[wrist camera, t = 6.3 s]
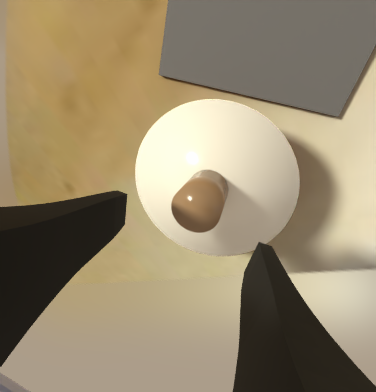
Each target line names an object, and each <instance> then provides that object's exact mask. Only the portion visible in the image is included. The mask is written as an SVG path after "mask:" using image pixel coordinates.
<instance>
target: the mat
mask: <svg viewBox="0 0 376 392" xmlns="http://www.w3.org/2000/svg"><path fill="white" fill-rule="evenodd" d="M375 46H376V0H168V7H167V14H166V22H165V30H164V38H163V46H162V54H161V62H160V70H159V75H161V76H165V77H169V78H173V79H178V80H182V81H186V82H190V83H195V84H199V85H203V86H208V87H212V88H216V89H220V90H225V91H229V92H233V93H238V94H242V95H246V96H250V97H255V98H259V99H263V100H268V101H272V102H276V103H280V104H285V105H289V106H293V107H298V108H302V109H306V110H310V111H315V112H319V113H323V114H328V115H332V116H336V117H339V115H340V113H341V111H342V109H343V107H344V105H345V103H346V101H347V99H348V97H349V95H350V94H351V92H352V90H353V88H354V86H355V84H356V82H357V80H358V78H359V76H360V74H361V72H362V71H363V69H364V67H365V65H366V63H367V61H368V59H369V57H370V55H371V53H372V51H373V49H374V48H375Z"/></svg>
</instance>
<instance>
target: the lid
mask: <svg viewBox="0 0 376 392" xmlns="http://www.w3.org/2000/svg"><path fill="white" fill-rule="evenodd" d="M135 177H136V186H137V190H138V195H139V197H140V200H141V203H142V205H143V207H144V209H145V211H146V213H147V214H148V216H149V218H150V219H151V220H152V222H153V223H154V224H155V226H156V227H157V228H158V229H159V230H160V231H161V232H162V233H163V234H165V235H166V236H167V237H168V238H170V239H171V240H172V241H174V242H175V243H177V244H179V245H181V246H182V247H184V248H187V249H189V250H191V251H194V252H197V253H201V254H206V255H211V256H233V255H240V254H244V253H247V252H250V251H253V250H255V249H256V247H257V244H258V242H261V243H264V244H266V243H268V242H269V241H271V240H272V239H273V238H275V237H276V236H277V235H278V234H279V233H280V232H281V231H282V229H283V228H284V227H285V226H286V225H287V223H288V221H289V220H290V218H291V216H292V214H293V212H294V210H295V207H296V204H297V200H298V196H299V188H300V178H299V169H298V164H297V160H296V157H295V155H294V152H293V150H292V147H291V146H290V144H289V142H288V141H287V139H286V137H285V136H284V135H283V133H282V132H281V131H280V130H279V129H278V127H277V126H276V125H275V124H274V123H272V122H271V121H270V120H269V119H268V118H267V117H266V116H264V115H262V114H261V113H259V112H258V111H256V110H255V109H252V108H250V107H248V106H246V105H243V104H240V103H237V102H233V101H228V100H221V99H204V100H198V101H192V102H189V103H186V104H183V105H181V106H178V107H176V108H174V109H172V110H171V111H169V112H168V113H166V114H165V115H163V116H162V117H161V118H160V119H159V120H158V121H157V122H156V123H155V124H154V125H153V126H152V127H151V129H150V130H149V131H148V133H147V134H146V136H145V138H144V139H143V141H142V144H141V146H140V148H139V152H138V156H137V160H136V171H135Z"/></svg>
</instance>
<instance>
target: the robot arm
mask: <svg viewBox="0 0 376 392" xmlns="http://www.w3.org/2000/svg"><path fill="white" fill-rule="evenodd" d="M126 203H127V194H125V193H123V192H120V191H111V192H105V193H100V194H95V195H91V196H86V197H81V198H76V199H70V200H65V201H59V202H53V203H46V204H37V205H27V206H12V207H0V367H1V366H2V365H3V363H4V362H5V360H6V359H7V358H8V356H9V355H10V354H11V352H12V351H13V350H14V348H15V347H16V345H17V344H18V343H19V342H20V340H21V339H22V338H23V336H24V335H25V334H26V332H27V331H28V330H29V328H30V327H31V326H32V325H33V323H34V322H35V321H36V320H37V318H38V317H39V316H40V315H41V313H42V312H43V311H44V310H45V308H46V307H47V306H48V305H49V303H50V302H51V301H52V300H53V299H54V298H55V297H56V295H57V294H58V293H59V292H60V291H61V289H62V288H63V287H64V286H65V285H66V284H67V283H68V282H69V281H70V279H71V278H72V277H73V276H74V275H75V274H76V273H77V272H78V271H79V270H80V269H81V268H82V267H83V266H84V265H85V264H86V263H87V262H88V261H90V260H91V259H92V258H93V257H94V256H95V255H96V254H97V253H98V252H99V251H100V250H101V249H103V248H104V247H105V246H106V245H107V244H108V243H109V242H110V241H111V240H112V239H113V238H114V237H115V236H116V235H117V234H118V232H119V231H120V230H121V229H122V227H123V226H124V225H125V215H126ZM0 392H30V391H29V390H27V389H25V388H24V387H22V386H21V385H19V384H17V383H16V382H14V381H12V380H11V379H9V378H8V377H6V376H5V375H3V374H1V373H0ZM233 392H376V386H375V385H374V384H373V383H372V382H371V381H370V380H369V379H368V378H367V377H366V376H365V375H364V373H363V372H362V371H361V370H360V369H359V368H358V367H357V366H356V365H355V364H354V363H353V361H352V360H351V359H350V358H349V357H348V356H347V354H346V353H345V352H344V351H343V350H342V349H341V348H340V346H339V345H338V344H337V343H336V342H335V341H334V339H333V338H332V337H331V336H330V335H329V333H328V332H327V331H326V330H325V328H324V327H323V326H322V324H321V323H320V322H319V320H318V319H317V318H316V316H315V315H314V314H313V313H312V311H311V310H310V308H309V307H308V306H307V304H306V303H305V301H304V300H303V298H302V297H301V295H300V294H299V292H298V291H297V289H296V288H295V286H294V284H293V283H292V281H291V280H290V278H289V276H288V274H287V273H286V271H285V269H284V267H283V266H282V264H281V262H280V260H279V259H278V257H277V255H276V253H275V251H274V250H273V248H272V246H269V245H266V244H264V243H261V242H258V244H257V247H256V249H255V251H254V253H253V255H252V257H251V259H250V261H249V263H248V265H247V267H246V269H245V272H244V277H243V283H242V289H241V309H240V339H239V352H238V359H237V366H236V374H235V381H234V388H233Z"/></svg>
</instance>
